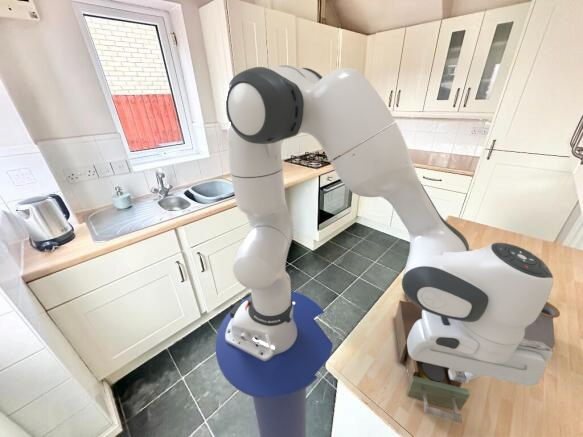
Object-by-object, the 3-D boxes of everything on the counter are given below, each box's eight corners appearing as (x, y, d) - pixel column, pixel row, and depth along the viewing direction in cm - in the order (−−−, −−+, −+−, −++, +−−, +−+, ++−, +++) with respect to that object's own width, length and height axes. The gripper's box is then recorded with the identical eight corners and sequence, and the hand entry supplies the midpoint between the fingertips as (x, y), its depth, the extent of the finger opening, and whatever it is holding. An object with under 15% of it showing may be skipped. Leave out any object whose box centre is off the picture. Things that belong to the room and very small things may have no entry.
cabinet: (450, 374, 64) (461, 354, 60) (399, 362, 67) (406, 342, 63) (437, 327, 76) (445, 308, 72) (394, 319, 79) (399, 300, 75)
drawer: (467, 435, 52) (478, 420, 49) (410, 418, 55) (416, 403, 51) (444, 355, 67) (451, 340, 64) (400, 345, 70) (405, 330, 67)
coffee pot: (510, 315, 79) (531, 281, 72) (557, 343, 70) (585, 307, 63) (473, 345, 71) (492, 309, 63) (521, 382, 62) (550, 345, 54)
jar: (417, 366, 64) (420, 358, 62) (438, 371, 62) (442, 362, 61) (420, 386, 59) (424, 377, 58) (443, 392, 58) (447, 383, 56)
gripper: (545, 329, 41) (512, 375, 47) (414, 305, 46) (400, 350, 53) (572, 365, 36) (530, 412, 42) (420, 334, 41) (404, 380, 47)
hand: (457, 377), depth 47 cm, fingers closed
